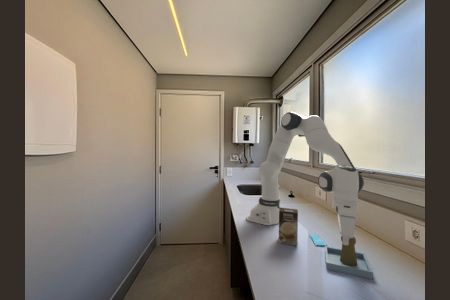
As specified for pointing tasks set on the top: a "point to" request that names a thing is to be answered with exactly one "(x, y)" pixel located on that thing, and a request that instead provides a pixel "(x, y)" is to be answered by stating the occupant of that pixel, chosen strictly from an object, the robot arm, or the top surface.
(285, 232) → the coffee box
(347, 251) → the cork
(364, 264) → the tray
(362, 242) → the top surface
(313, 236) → the sponge
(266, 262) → the top surface
